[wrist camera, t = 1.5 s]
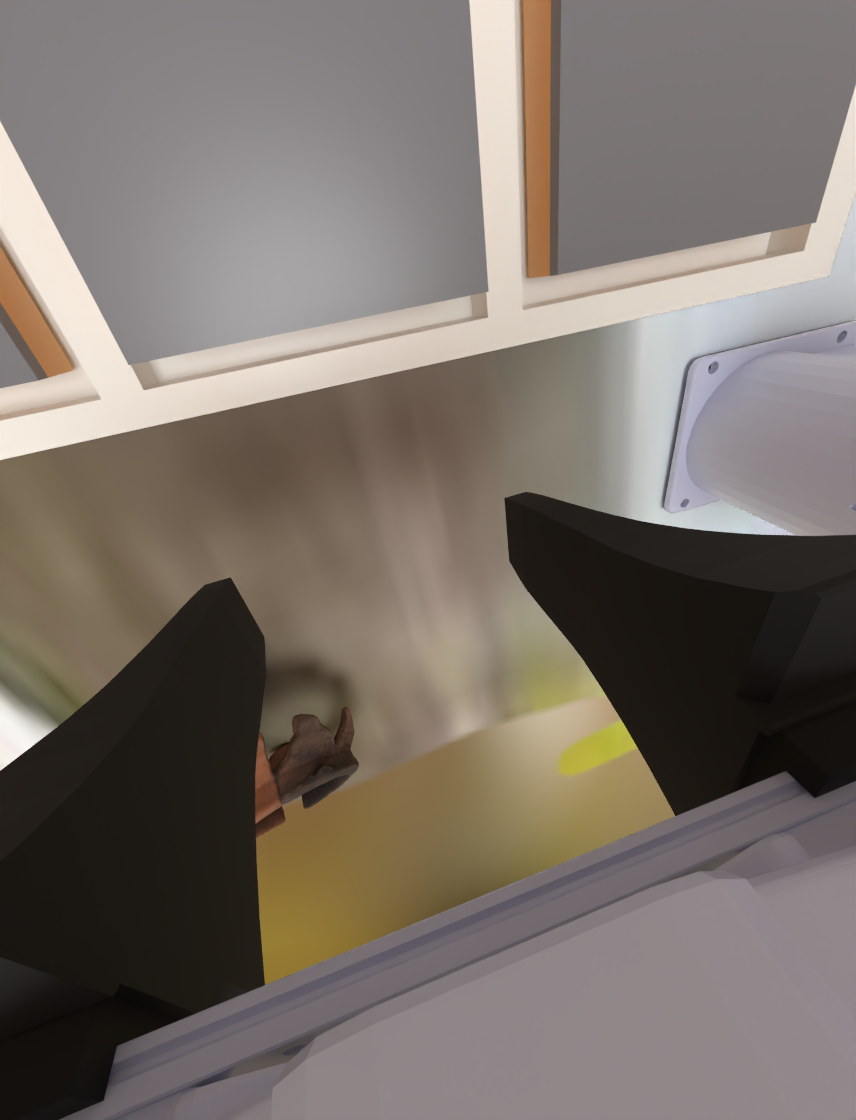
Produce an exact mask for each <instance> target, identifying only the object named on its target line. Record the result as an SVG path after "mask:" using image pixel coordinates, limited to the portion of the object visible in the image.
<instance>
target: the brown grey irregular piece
mask: <svg viewBox="0 0 856 1120" xmlns="http://www.w3.org/2000/svg"><path fill="white" fill-rule="evenodd" d="M292 727H293V733H294V735H293V737H292V738H291V740H290V743H286V744H284V746H283V747H282V748H280V749H278V750H277V751H276V752H275V753H274V754H273V755H272V756H271V757H270V758H269V760H268V757H267V753H266V749H265V745H264V738H263V735H262V734H261V733H260V732H259V739H258V747H257V757H256V772H255V821H256V838H257V837H259V836H261V835H263V834H264V833H266V832H268V831H269V830H271V829H273V828H275V827H277V826H279V825H281V824H282V823H284V822H285V816H284V811H283V809H282V805H283V804H285V803H288V802H290V801H292V800H294V799H296V798H298V797H299V796H301V795H302V801H303V806H304V808H305V809H307V808H310V807H311V806H313V805H314V804H316V803H318V802H319V801H320V800H322V799H323V798H325V797H326V796H328V794H330V793H331V792H333V791H335V790H336V789H337V788H339V787H340V786H341V785H342V784H343V783H344V782H345V781H346V780H347V779H349V777H350V776H351V775H352V774H353V773H354V772H355V771H356V770H357V768H358V767H359V763H358V761H357V760H356V758H355V757H354V756H353V754H352V752H351V750H350V747H351V743H352V740H353V736H354V728H353V722H352V716H351V714H350V711H349V708H347V707H345V708H343V709H342V715H341V722H340V726H339V728H338V730H337V733H336V735H335V738H334V736H333V734H332V733H331V731H330V730H329V729H328V728H326V727H325V726H324V725H322V724H321V723H320V721H319V719H318V718H317V717H316V716H314V715H310V714H299V715H296V716H294V717H293V720H292Z"/></svg>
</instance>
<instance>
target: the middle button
mask: <svg viewBox="0 0 856 1120" xmlns="http://www.w3.org/2000/svg"><path fill="white" fill-rule="evenodd" d="M0 122H1V124H2V125H3V127H4V129H5V131H6V133H7V135H8V137H9V139H10V141H11V143H12V144H13V146H14V148H15V150H16V152H17V154H18V156H19V158H20V160H21V162H22V163H23V165H24V167H25V169H26V171H27V173H28V175H29V177H30V179H31V181H32V183H33V184H34V186H35V188H36V190H37V192H38V194H39V196H40V198H41V200H42V202H43V203H44V205H45V207H46V209H47V211H48V213H49V215H50V217H51V219H52V221H53V222H54V224H55V226H56V228H57V230H58V232H59V234H60V236H61V238H62V240H63V241H64V243H65V245H66V247H67V249H68V251H69V253H70V255H71V257H72V259H73V260H74V262H75V264H76V266H77V268H78V270H79V272H80V274H81V276H82V278H83V279H84V281H85V283H86V285H87V287H88V289H89V291H90V293H91V295H92V297H93V298H94V300H95V302H96V304H97V306H98V308H99V310H100V312H101V314H102V316H103V317H104V319H105V321H106V323H107V325H108V327H109V329H110V331H111V333H112V335H113V336H114V338H115V340H116V342H117V344H118V346H119V348H120V350H121V352H122V354H123V356H124V357H125V359H126V361H127V363H128V365H132V364H137V363H142V362H146V361H151V360H156V359H161V358H166V357H171V356H176V355H181V354H186V353H191V352H196V351H200V350H205V349H210V348H215V347H220V346H225V345H230V344H235V343H240V342H245V341H249V340H254V339H259V338H264V337H269V336H274V335H279V334H284V333H289V332H294V331H298V330H303V329H308V328H313V327H318V326H323V325H328V324H333V323H338V322H343V321H348V320H352V319H357V318H362V317H367V316H372V315H377V314H382V313H387V312H392V311H397V310H401V309H406V308H411V307H416V306H421V305H426V304H431V303H436V302H441V301H446V300H450V299H455V298H460V297H465V296H470V295H475V294H480V293H485V292H489V291H488V276H487V261H486V246H485V230H484V215H483V200H482V185H481V170H480V155H479V140H478V124H477V109H476V94H475V79H474V64H473V49H472V33H471V18H470V3H469V0H0Z"/></svg>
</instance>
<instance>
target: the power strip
mask: <svg viewBox="0 0 856 1120" xmlns="http://www.w3.org/2000/svg"><path fill="white" fill-rule="evenodd" d="M469 3H470V18H471V33H472V49H473V64H474V79H475V94H476V109H477V124H478V140H479V155H480V170H481V185H482V200H483V215H484V230H485V246H486V261H487V276H488V291H489V292H485V293H480V294H475V295H470V296H465V297H460V298H455V299H450V300H446V301H441V302H436V303H431V304H426V305H421V306H416V307H411V308H406V309H401V310H397V311H392V312H387V313H382V314H377V315H372V316H367V317H362V318H357V319H352V320H348V321H343V322H338V323H333V324H328V325H323V326H318V327H313V328H308V329H303V330H298V331H294V332H289V333H284V334H279V335H274V336H269V337H264V338H259V339H254V340H249V341H245V342H240V343H235V344H230V345H225V346H220V347H215V348H210V349H205V350H200V351H196V352H191V353H186V354H181V355H176V356H171V357H166V358H161V359H156V360H151V361H146V362H142V363H137V364H132V365H128V363H127V361H126V359H125V357H124V356H123V354H122V352H121V350H120V348H119V346H118V344H117V342H116V340H115V338H114V336H113V335H112V333H111V331H110V329H109V327H108V325H107V323H106V321H105V319H104V317H103V316H102V314H101V312H100V310H99V308H98V306H97V304H96V302H95V300H94V298H93V297H92V295H91V293H90V291H89V289H88V287H87V285H86V283H85V281H84V279H83V278H82V276H81V274H80V272H79V270H78V268H77V266H76V264H75V262H74V260H73V259H72V257H71V255H70V253H69V251H68V249H67V247H66V245H65V243H64V241H63V240H62V238H61V236H60V234H59V232H58V230H57V228H56V226H55V224H54V222H53V221H52V219H51V217H50V215H49V213H48V211H47V209H46V207H45V205H44V203H43V202H42V200H41V198H40V196H39V194H38V192H37V190H36V188H35V186H34V184H33V183H32V181H31V179H30V177H29V175H28V173H27V171H26V169H25V167H24V165H23V163H22V162H21V160H20V158H19V156H18V154H17V152H16V150H15V148H14V146H13V144H12V143H11V141H10V139H9V137H8V135H7V133H6V131H5V129H4V127H3V125H2V124H1V122H0V247H1V249H2V250H3V252H4V254H5V255H6V257H7V259H8V260H9V262H10V264H11V265H12V267H13V269H14V270H15V272H16V274H17V275H18V277H19V279H20V280H21V282H22V284H23V285H24V287H25V289H26V290H27V292H28V294H29V295H30V297H31V299H32V300H33V302H34V304H35V305H36V307H37V309H38V310H39V312H40V314H41V315H42V317H43V319H44V320H45V322H46V324H47V325H48V327H49V329H50V330H51V332H52V334H53V335H54V337H55V339H56V340H57V342H58V344H59V345H60V347H61V349H62V350H63V352H64V354H65V356H66V357H67V359H68V361H69V362H70V364H71V366H72V367H73V369H74V370H73V371H70V372H66V373H63V374H59V375H56V376H53V377H49V378H46V379H42V380H39V381H34V382H29V383H24V384H19V385H14V386H9V387H4V388H0V460H2V459H6V458H11V457H16V456H20V455H25V454H29V453H34V452H38V451H43V450H47V449H52V448H56V447H61V446H65V445H70V444H74V443H79V442H83V441H88V440H92V439H97V438H101V437H106V436H110V435H115V434H119V433H124V432H128V431H133V430H138V429H142V428H147V427H151V426H156V425H160V424H165V423H169V422H174V421H178V420H183V419H187V418H192V417H196V416H201V415H205V414H210V413H214V412H219V411H223V410H228V409H232V408H237V407H241V406H246V405H250V404H255V403H259V402H264V401H269V400H273V399H278V398H282V397H287V396H291V395H296V394H300V393H305V392H309V391H314V390H318V389H323V388H327V387H332V386H336V385H341V384H345V383H350V382H354V381H359V380H363V379H368V378H372V377H377V376H381V375H386V374H391V373H395V372H400V371H404V370H409V369H413V368H418V367H422V366H427V365H431V364H436V363H440V362H445V361H449V360H454V359H458V358H463V357H467V356H472V355H476V354H481V353H485V352H490V351H494V350H499V349H503V348H508V347H512V346H517V345H522V344H526V343H531V342H535V341H540V340H544V339H549V338H553V337H558V336H562V335H567V334H571V333H576V332H580V331H585V330H589V329H594V328H598V327H603V326H607V325H612V324H616V323H621V322H625V321H630V320H634V319H639V318H644V317H648V316H653V315H657V314H662V313H666V312H671V311H675V310H680V309H684V308H689V307H693V306H698V305H702V304H707V303H711V302H716V301H720V300H725V299H729V298H734V297H738V296H743V295H747V294H752V293H756V292H761V291H765V290H770V289H775V288H779V287H784V286H788V285H793V284H797V283H802V282H806V281H811V280H815V279H820V278H824V277H829V274H830V271H831V268H832V265H833V262H834V259H835V256H836V253H837V249H838V246H839V243H840V240H841V237H842V234H843V231H844V228H845V225H846V221H847V218H848V215H849V212H850V209H851V206H852V203H853V200H854V197H855V193H856V86H855V89H854V93H853V96H852V99H851V103H850V106H849V110H848V113H847V117H846V120H845V124H844V127H843V131H842V134H841V138H840V141H839V145H838V148H837V151H836V155H835V158H834V162H833V165H832V169H831V172H830V176H829V179H828V183H827V186H826V190H825V193H824V196H823V200H822V203H821V207H820V210H819V214H818V217H817V221H816V223H811V224H807V225H802V226H797V227H792V228H787V229H782V230H777V231H772V232H767V233H762V234H757V235H752V236H747V237H743V238H738V239H733V240H728V241H723V242H718V243H713V244H708V245H703V246H698V247H693V248H688V249H684V250H679V251H674V252H669V253H664V254H659V255H654V256H649V257H644V258H639V259H634V260H629V261H624V262H620V263H615V264H610V265H605V266H600V267H595V268H590V269H585V270H580V271H575V272H570V273H565V274H560V275H554V276H545V277H536V278H529V276H528V225H527V174H526V122H525V71H524V20H523V0H469Z"/></svg>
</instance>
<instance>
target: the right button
mask: <svg viewBox="0 0 856 1120" xmlns="http://www.w3.org/2000/svg"><path fill="white" fill-rule="evenodd" d="M523 20H524V71H525V122H526V174H527V225H528V276H529V278H536V277H545V276H554V275H560V274H565V273H570V272H575V271H580V270H585V269H590V268H595V267H600V266H605V265H610V264H615V263H620V262H624V261H629V260H634V259H639V258H644V257H649V256H654V255H659V254H664V253H669V252H674V251H679V250H684V249H688V248H693V247H698V246H703V245H708V244H713V243H718V242H723V241H728V240H733V239H738V238H743V237H747V236H752V235H757V234H762V233H767V232H772V231H777V230H782V229H787V228H792V227H797V226H802V225H807V224H811V223H816V221H817V217H818V214H819V210H820V207H821V203H822V200H823V196H824V193H825V190H826V186H827V183H828V179H829V176H830V172H831V169H832V165H833V162H834V158H835V155H836V151H837V148H838V145H839V141H840V138H841V134H842V131H843V127H844V124H845V120H846V117H847V113H848V110H849V106H850V103H851V99H852V96H853V93H854V89H855V86H856V0H523Z"/></svg>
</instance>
